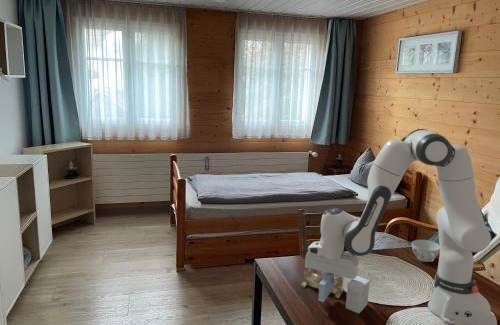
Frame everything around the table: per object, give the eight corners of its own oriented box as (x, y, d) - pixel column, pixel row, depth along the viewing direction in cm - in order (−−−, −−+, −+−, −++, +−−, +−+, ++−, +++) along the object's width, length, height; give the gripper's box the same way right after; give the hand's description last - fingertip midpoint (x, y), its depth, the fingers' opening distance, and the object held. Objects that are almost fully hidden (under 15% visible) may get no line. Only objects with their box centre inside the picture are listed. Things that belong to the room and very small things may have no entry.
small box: (354, 299, 148) (356, 274, 146) (367, 304, 145) (370, 279, 142) (345, 308, 142) (347, 283, 140) (359, 314, 138) (361, 288, 136)
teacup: (406, 253, 189) (407, 238, 188) (431, 254, 189) (433, 239, 187) (418, 267, 175) (420, 252, 173) (445, 268, 174) (447, 252, 173)
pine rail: (343, 290, 154) (345, 272, 152) (338, 298, 148) (340, 280, 147) (307, 279, 162) (308, 262, 160) (301, 286, 156) (302, 269, 154)
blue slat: (328, 285, 149) (329, 269, 148) (333, 287, 148) (334, 270, 147) (318, 300, 139) (319, 283, 138) (323, 302, 138) (324, 285, 137)
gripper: (361, 252, 141) (358, 285, 144) (309, 241, 151) (308, 272, 154) (356, 259, 136) (354, 293, 139) (303, 247, 146) (302, 279, 149)
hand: (330, 282), depth 147 cm, fingers closed on blue slat, 2 cm apart
